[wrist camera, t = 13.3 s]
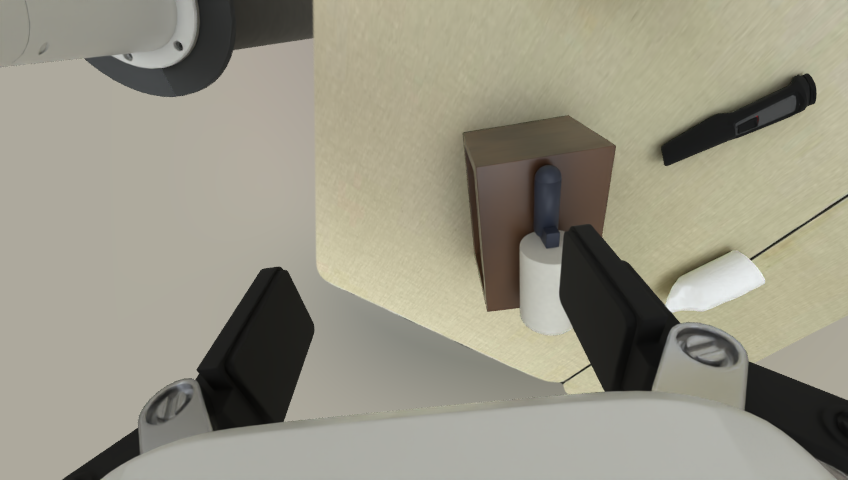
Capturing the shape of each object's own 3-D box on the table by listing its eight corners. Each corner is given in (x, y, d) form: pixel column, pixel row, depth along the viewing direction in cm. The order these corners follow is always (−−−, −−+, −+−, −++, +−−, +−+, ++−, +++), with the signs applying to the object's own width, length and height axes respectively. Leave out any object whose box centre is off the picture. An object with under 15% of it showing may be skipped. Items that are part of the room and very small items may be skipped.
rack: (474, 256, 48) (487, 312, 39) (462, 132, 39) (475, 167, 29) (559, 245, 47) (592, 299, 38) (568, 115, 38) (616, 145, 28)
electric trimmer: (647, 139, 39) (663, 148, 37) (803, 69, 35) (833, 73, 33) (652, 166, 41) (668, 176, 39) (800, 102, 37) (829, 108, 34)
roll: (643, 283, 51) (666, 309, 47) (728, 242, 47) (762, 267, 43) (656, 305, 54) (678, 332, 49) (737, 268, 50) (770, 294, 45)
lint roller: (564, 293, 38) (585, 332, 33) (514, 299, 38) (527, 338, 33) (577, 156, 29) (607, 182, 24) (512, 166, 29) (529, 193, 25)
